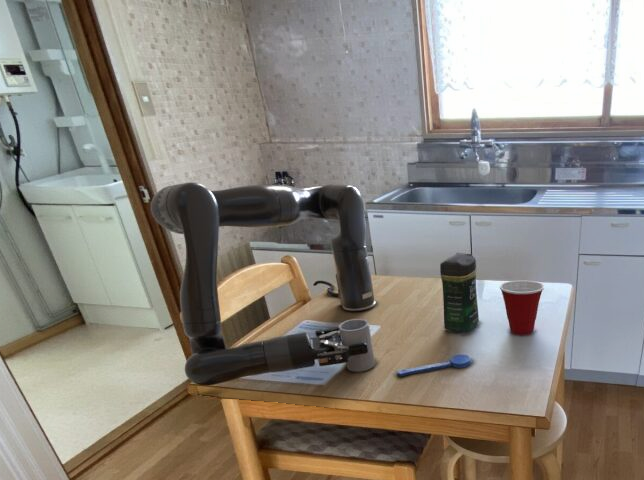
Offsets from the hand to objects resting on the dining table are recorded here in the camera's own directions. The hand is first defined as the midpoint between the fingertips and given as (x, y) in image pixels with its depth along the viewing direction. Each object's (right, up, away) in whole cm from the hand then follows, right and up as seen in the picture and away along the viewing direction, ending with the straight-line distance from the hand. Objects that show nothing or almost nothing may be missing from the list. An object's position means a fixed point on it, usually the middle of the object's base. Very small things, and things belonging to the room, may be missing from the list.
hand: (365, 339), depth 115 cm
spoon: (+16, -6, 0) cm, 17 cm away
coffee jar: (+21, +5, +18) cm, 28 cm away
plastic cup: (+36, +4, +15) cm, 39 cm away
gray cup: (-1, -6, +3) cm, 6 cm away
